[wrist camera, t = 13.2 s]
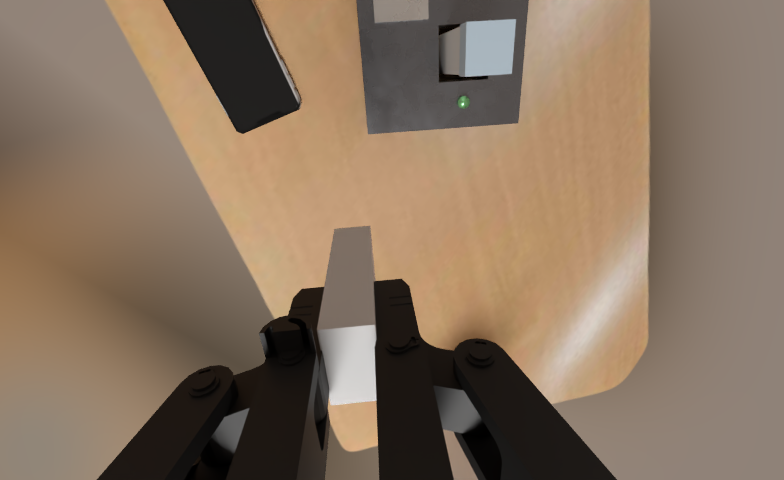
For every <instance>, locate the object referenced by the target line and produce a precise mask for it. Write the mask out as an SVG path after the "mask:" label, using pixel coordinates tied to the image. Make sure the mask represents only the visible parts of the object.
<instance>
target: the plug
mask: <svg viewBox="0 0 784 480" xmlns="http://www.w3.org/2000/svg"><path fill="white" fill-rule="evenodd" d="M515 26H516V19H508V20H490V21H472V22H465V23H463V24H461V25H460V27H458V28H456V29H453V30H451V31H449V32H446V33H444V34H442V35H439V74H453V75H459V76H461V77H471V76H487V75H503V74H512V65H513V52H514V39H515Z"/></svg>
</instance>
